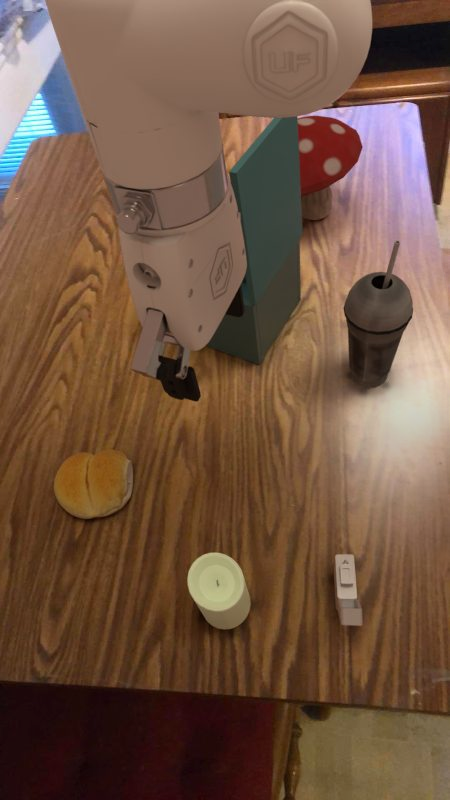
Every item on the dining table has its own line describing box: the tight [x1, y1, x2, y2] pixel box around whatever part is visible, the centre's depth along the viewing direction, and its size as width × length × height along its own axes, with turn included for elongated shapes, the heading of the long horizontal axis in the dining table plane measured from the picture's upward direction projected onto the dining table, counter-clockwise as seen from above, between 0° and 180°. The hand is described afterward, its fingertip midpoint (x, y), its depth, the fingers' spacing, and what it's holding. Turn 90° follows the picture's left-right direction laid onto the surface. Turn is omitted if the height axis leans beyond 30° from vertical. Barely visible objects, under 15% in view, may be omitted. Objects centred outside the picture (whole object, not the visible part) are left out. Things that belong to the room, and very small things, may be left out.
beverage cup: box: [343, 240, 414, 389], centre depth 62 cm, size 7×7×20 cm
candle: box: [186, 552, 252, 630], centre depth 53 cm, size 5×5×8 cm
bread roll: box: [53, 448, 134, 520], centre depth 64 cm, size 8×9×4 cm
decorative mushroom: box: [297, 115, 363, 221], centre depth 83 cm, size 16×16×15 cm
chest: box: [166, 239, 302, 366], centre depth 74 cm, size 16×13×11 cm
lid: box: [228, 116, 303, 305], centre depth 60 cm, size 17×13×1 cm
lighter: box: [333, 553, 363, 626], centre depth 52 cm, size 7×2×8 cm, turn 177°
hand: (206, 351), depth 50 cm, fingers open, 9 cm apart
